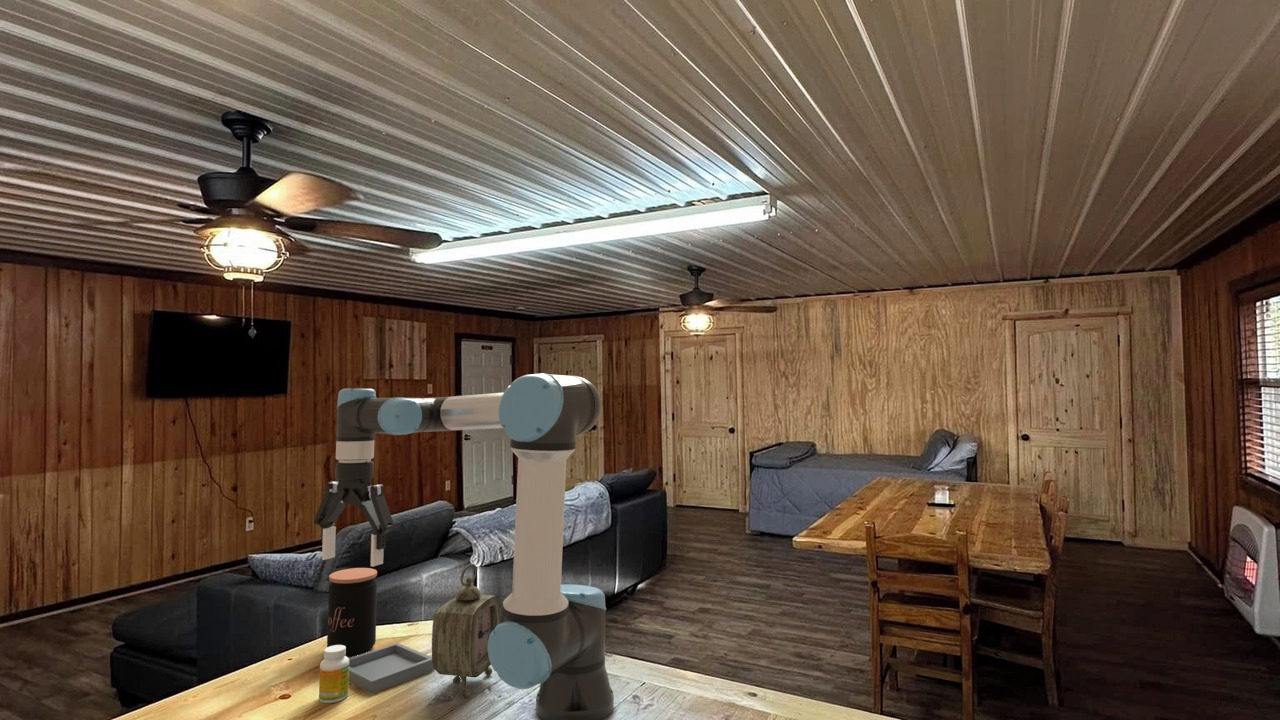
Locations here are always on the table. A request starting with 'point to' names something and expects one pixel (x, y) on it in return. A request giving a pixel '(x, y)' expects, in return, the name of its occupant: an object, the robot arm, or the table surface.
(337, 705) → the table surface
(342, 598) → the coffee jar
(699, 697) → the table surface
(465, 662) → the tabletop clock
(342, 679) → the supplement bottle
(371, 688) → the tray
